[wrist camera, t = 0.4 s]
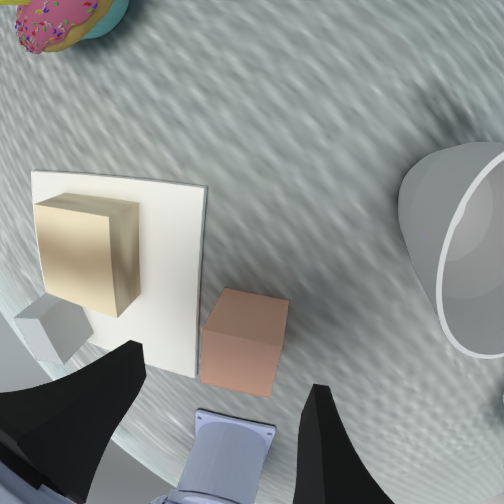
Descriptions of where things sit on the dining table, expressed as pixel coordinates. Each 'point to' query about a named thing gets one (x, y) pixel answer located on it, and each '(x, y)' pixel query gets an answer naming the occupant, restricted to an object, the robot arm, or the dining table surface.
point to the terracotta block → (243, 342)
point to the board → (149, 264)
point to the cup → (459, 241)
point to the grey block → (54, 328)
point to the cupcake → (64, 21)
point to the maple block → (90, 250)
